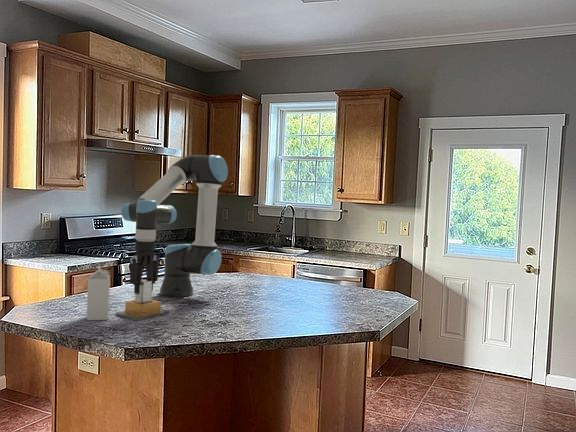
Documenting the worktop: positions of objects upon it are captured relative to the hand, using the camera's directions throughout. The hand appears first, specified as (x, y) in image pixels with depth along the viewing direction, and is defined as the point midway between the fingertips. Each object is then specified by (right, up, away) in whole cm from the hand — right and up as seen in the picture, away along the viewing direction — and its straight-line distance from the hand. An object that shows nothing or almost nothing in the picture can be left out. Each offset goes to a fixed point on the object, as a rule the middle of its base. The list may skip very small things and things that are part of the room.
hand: (143, 300), depth 200 cm
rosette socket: (0, -5, 0) cm, 5 cm away
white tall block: (0, -4, 0) cm, 4 cm away
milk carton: (-14, -5, -9) cm, 17 cm away
